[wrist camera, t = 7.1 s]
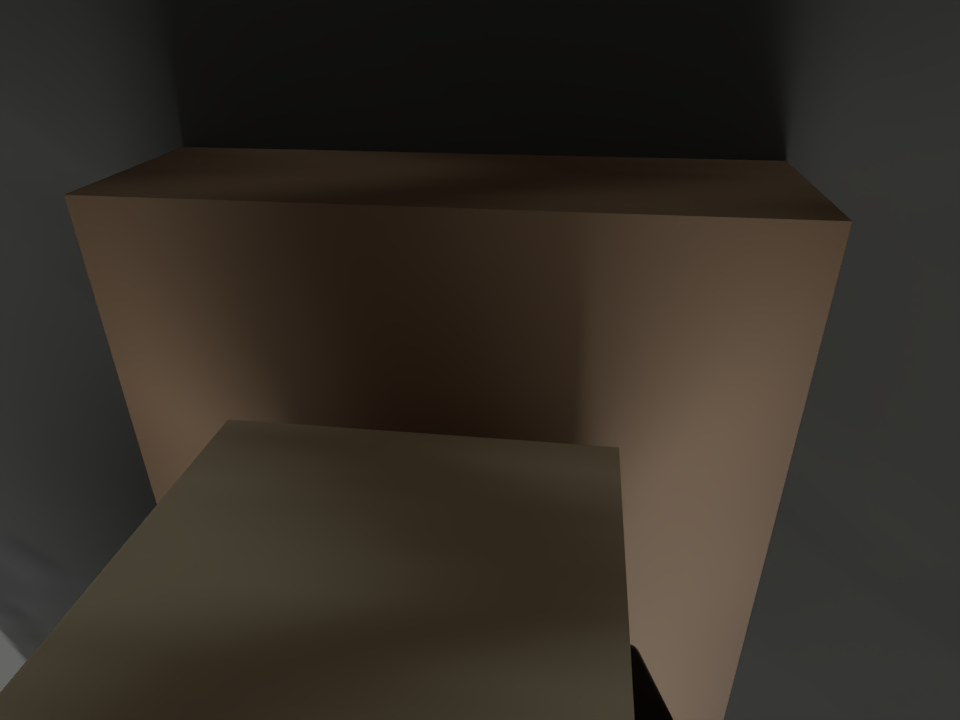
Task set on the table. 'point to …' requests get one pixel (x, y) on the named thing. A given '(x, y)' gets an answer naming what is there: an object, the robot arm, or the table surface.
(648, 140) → the table surface
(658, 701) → the robot arm
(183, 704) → the oak block
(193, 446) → the walnut block
